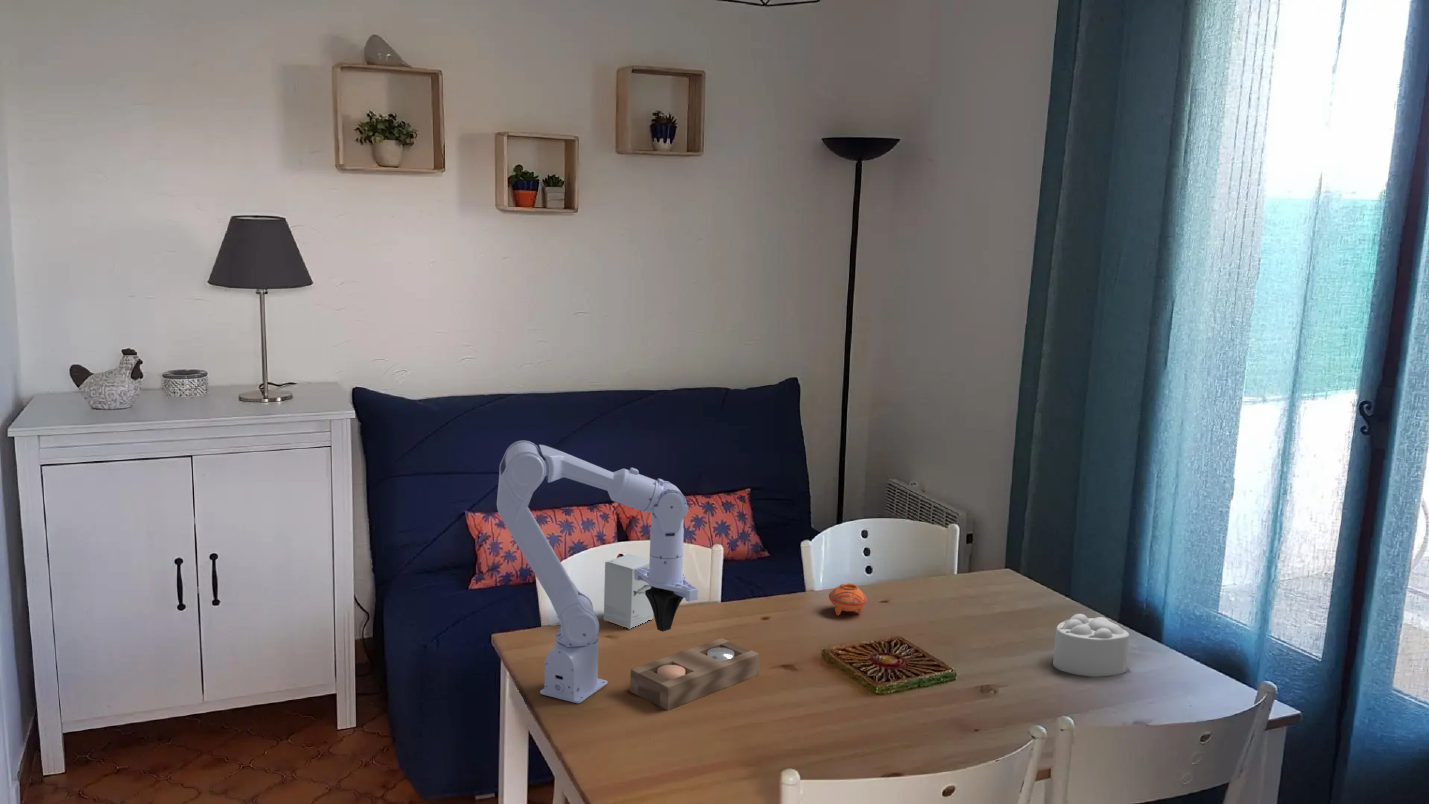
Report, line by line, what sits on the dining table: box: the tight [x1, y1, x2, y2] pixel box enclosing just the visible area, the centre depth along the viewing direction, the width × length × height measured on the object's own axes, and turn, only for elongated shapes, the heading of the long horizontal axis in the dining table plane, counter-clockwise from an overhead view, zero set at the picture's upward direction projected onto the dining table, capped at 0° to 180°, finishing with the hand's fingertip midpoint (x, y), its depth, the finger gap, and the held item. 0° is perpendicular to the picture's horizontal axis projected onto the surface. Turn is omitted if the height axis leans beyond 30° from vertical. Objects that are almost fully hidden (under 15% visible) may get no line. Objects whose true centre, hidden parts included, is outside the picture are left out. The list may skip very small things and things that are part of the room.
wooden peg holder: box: [629, 637, 761, 711], centre depth 192 cm, size 22×10×4 cm, turn 135°
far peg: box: [707, 648, 734, 661], centre depth 196 cm, size 5×5×4 cm
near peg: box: [657, 665, 685, 680], centre depth 188 cm, size 5×5×4 cm
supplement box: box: [603, 553, 654, 630], centre depth 220 cm, size 7×7×13 cm
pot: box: [828, 583, 868, 617], centre depth 229 cm, size 8×8×7 cm
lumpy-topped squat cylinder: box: [1052, 613, 1130, 677], centre depth 206 cm, size 10×13×9 cm
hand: (664, 629), depth 191 cm, fingers closed
